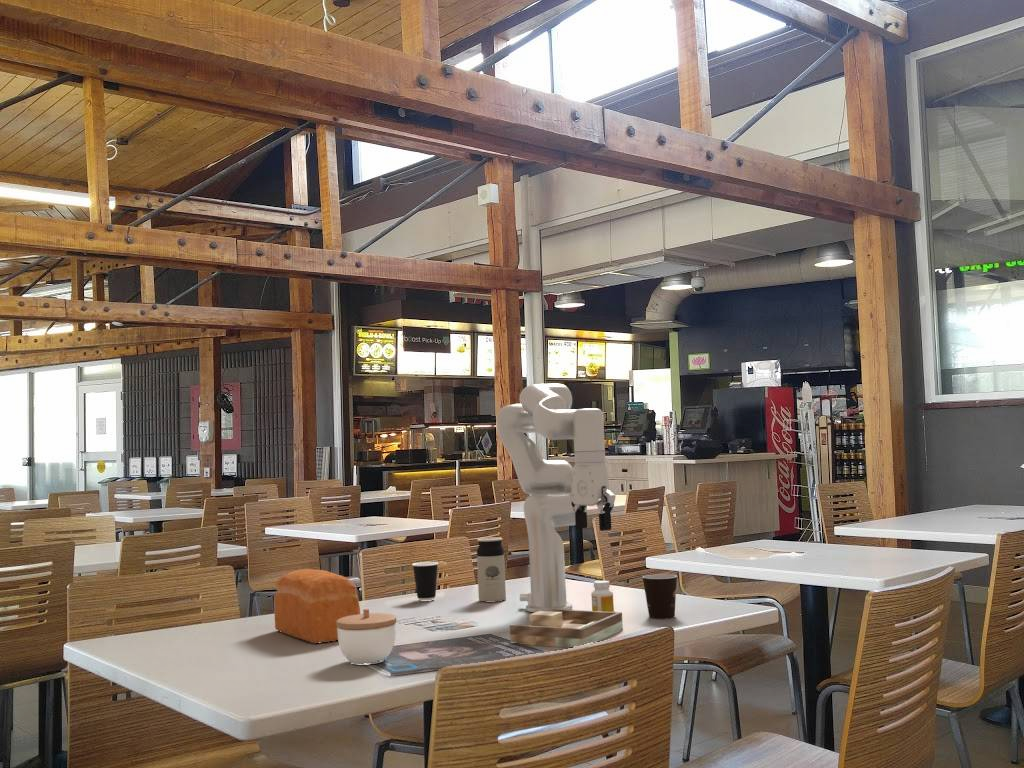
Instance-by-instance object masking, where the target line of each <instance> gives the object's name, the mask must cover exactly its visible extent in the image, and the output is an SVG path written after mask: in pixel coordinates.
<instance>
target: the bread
mask: <svg viewBox="0 0 1024 768" xmlns="http://www.w3.org/2000/svg"><path fill="white" fill-rule="evenodd" d="M275 586H276V592H275V594H274V597H273V605H274V606H273V609H274V628H275V630H276V631H277V630H278V631H277V632H279V631H281V632H280V633H282V632H283V633H282V634H285V633H286V634H285V635H287V634H289V635H288V636H290V635H291V637H293V636H294V637H293V638H296V637H297V639H299V638H300V640H301V639H303V640H302V641H304V640H305V642H307V641H309V642H308V643H310V642H311V643H310V644H316V643H319V642H328V643H330V642H329V641H335V642H337V641H336V640H338V635H337V625H336V621H337V620H338V619H340V618H342V617H346V616H351V615H358V614H361V607H360V601H359V597H358V594H357V586H356V585H355V584H354V583H353V582H352V581H351V579H348V578H347V577H345V576H344V575H340V574H336V573H334V572H331V571H327V570H325V569H323V570H322V569H311V568H302V569H296V570H292V571H290V572H287V573H285V574H284V575H282V576H281V577H280V578H279V579H277V582H276V585H275ZM319 644H320V643H319Z"/></svg>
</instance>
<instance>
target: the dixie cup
mask: <svg viewBox="0 0 1024 768" xmlns="http://www.w3.org/2000/svg"><path fill="white" fill-rule="evenodd" d="M411 565H412V571H413V575H414V582H415V590H416V597H417V599H419V600H432V599H435V598H436V595H437V593H436V591H437V579H438V565H439V562H438V561H420V562H413V563H412V564H411ZM419 600H418V601H419ZM435 600H436V599H435Z"/></svg>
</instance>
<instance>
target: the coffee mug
mask: <svg viewBox="0 0 1024 768" xmlns="http://www.w3.org/2000/svg"><path fill="white" fill-rule="evenodd" d="M677 580H678V576H677V575H675V574H670V573H669V574H667V573H663V574H662V573H660V574H659V573H657V574H648V575H647V574H646V575H643V576H642V583H643V586H644V587H643V588H644V594H645V600H646V607H647V613H648V617H649V618H650V619H654V620H655V619H656V620H666V619H665V618H668V619H672V618H671V617H673V618H675V617H676V613H675V612H676V601H677V598H676V597H677V585H678V584H677V583H678V582H677ZM674 616H675V617H674Z"/></svg>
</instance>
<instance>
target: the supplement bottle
mask: <svg viewBox="0 0 1024 768" xmlns="http://www.w3.org/2000/svg"><path fill="white" fill-rule="evenodd" d="M610 584H611V583H610V580H596V581H593V588H594V590H592V591H591V611H603V612H615V610H614V609H615V608H614V607H615V606H614V593H613V591H612V590H611V589H610V587H611V586H610Z"/></svg>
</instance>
